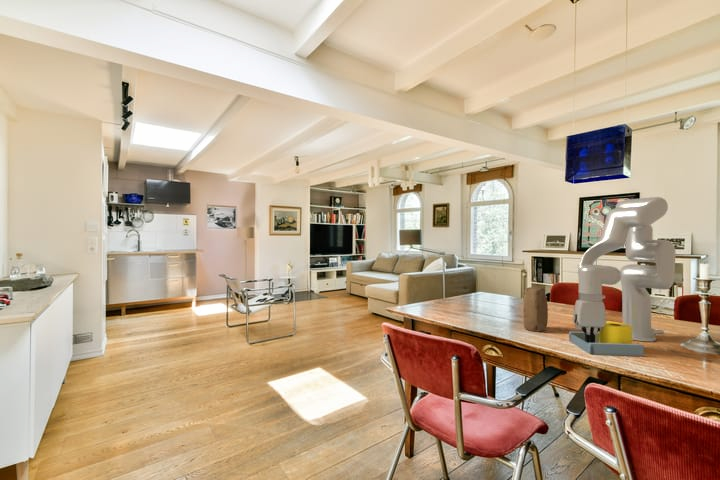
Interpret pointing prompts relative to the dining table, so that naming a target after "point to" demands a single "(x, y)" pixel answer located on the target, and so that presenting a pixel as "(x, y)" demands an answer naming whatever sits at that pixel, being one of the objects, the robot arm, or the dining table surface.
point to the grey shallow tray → (605, 346)
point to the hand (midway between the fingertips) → (589, 343)
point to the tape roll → (616, 333)
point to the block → (535, 309)
